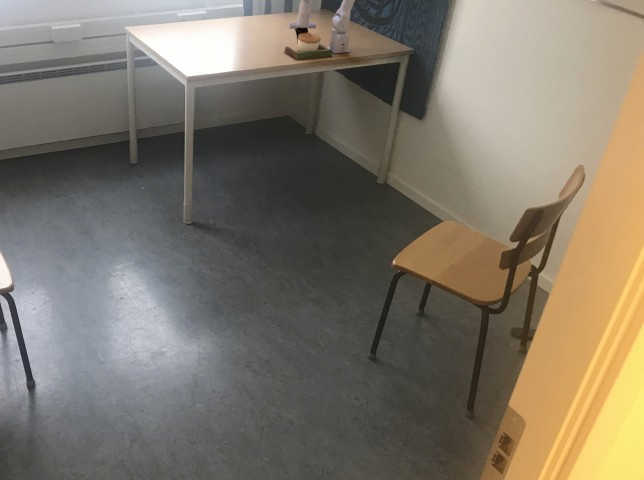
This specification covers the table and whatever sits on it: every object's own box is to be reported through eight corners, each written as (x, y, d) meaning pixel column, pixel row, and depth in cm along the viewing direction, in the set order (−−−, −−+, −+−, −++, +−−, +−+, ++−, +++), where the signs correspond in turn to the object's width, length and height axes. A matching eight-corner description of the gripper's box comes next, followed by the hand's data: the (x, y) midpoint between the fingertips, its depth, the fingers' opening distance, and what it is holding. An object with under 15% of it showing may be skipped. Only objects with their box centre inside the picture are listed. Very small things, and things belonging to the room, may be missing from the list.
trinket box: (301, 46, 345) (304, 27, 338) (321, 52, 341) (324, 32, 334) (292, 53, 338) (295, 33, 331) (312, 59, 334) (315, 39, 328)
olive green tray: (331, 56, 338) (332, 49, 336) (296, 59, 332) (297, 53, 330) (319, 48, 347) (319, 42, 345) (284, 52, 341) (285, 45, 340)
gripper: (313, 11, 339) (308, 41, 348) (286, 12, 335) (282, 41, 343) (320, 16, 334) (315, 45, 343) (293, 16, 330) (288, 46, 338)
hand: (299, 43), depth 343 cm, fingers closed, pressing on trinket box
